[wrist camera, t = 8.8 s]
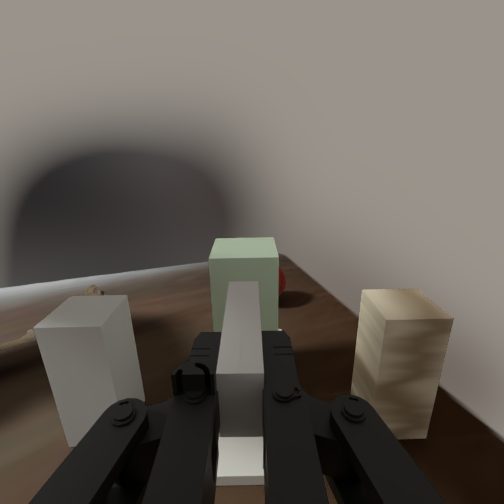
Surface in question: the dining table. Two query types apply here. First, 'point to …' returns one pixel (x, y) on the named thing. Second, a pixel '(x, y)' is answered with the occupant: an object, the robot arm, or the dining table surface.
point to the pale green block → (245, 275)
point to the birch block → (400, 357)
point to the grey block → (89, 359)
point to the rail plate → (240, 461)
